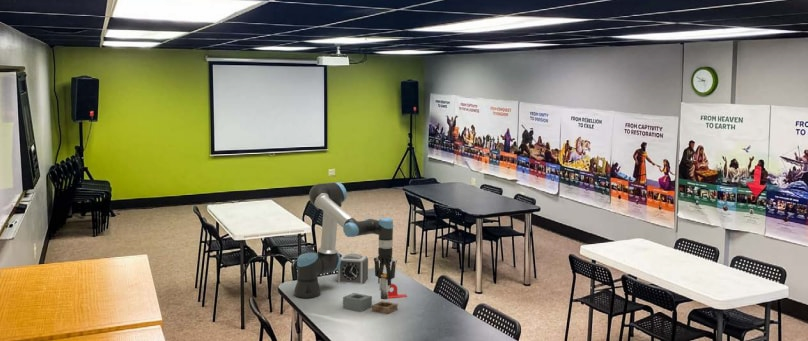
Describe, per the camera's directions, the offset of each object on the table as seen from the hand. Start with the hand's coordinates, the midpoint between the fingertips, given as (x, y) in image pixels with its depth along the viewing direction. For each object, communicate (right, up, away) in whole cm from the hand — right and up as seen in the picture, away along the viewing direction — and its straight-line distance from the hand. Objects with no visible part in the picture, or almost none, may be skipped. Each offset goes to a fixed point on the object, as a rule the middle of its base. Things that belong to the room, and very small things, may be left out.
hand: (384, 290), depth 338 cm
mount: (0, -11, +1) cm, 11 cm away
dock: (-15, -10, +5) cm, 19 cm away
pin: (0, -4, 0) cm, 4 cm away
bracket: (+6, -9, +25) cm, 27 cm away
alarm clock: (-21, -7, +54) cm, 58 cm away
